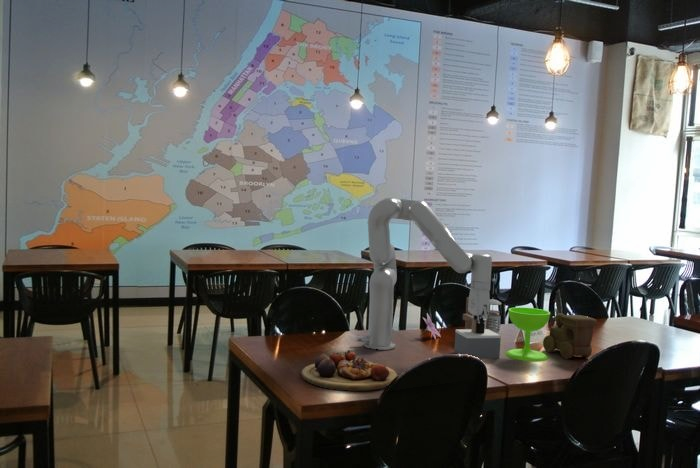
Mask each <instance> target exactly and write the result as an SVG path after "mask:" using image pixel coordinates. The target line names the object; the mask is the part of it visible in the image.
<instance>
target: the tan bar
mask: <svg viewBox="0 0 700 468" xmlns="http://www.w3.org/2000/svg"><path fill="white" fill-rule="evenodd" d="M462 321H467V322H469V323H471V324H472V316H471V315H469V314H466V313H462Z"/></svg>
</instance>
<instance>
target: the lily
mask: <svg viewBox="0 0 700 468" xmlns="http://www.w3.org/2000/svg"><path fill="white" fill-rule="evenodd" d="M426 317H427V318H425V317H423V316H422V319H423V320H424V322H425V324H426V329H425V330H424V331H423V332H422V333H421V335H420V337H422V335H423V334H424V333H425V332H426V331H428V332H431V334H432V336H433V338H434V340H436V339H437V337H436V335H437V336H439V337H440V338H442V337H441V334H440V332H439V331H438V330H437V329H436V325H435V323H433V322H432V319H431V317H430V315H429V314H428V313H426Z"/></svg>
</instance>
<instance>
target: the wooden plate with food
mask: <svg viewBox="0 0 700 468" xmlns="http://www.w3.org/2000/svg"><path fill="white" fill-rule="evenodd" d="M356 357H357V356H356V353H355V352H354V351H352V350H351V351H350V350H347V351H344V353H340V352H333V353H332V354H329V355H326V354H325V353H322V354H320V355H318V357H317V358H316V359H315V360H314V363H311V364H309V365H307V366H305V367H304V368H303V369H302V370H301V373H300V375H301V378H302V379H303V380H304V381H305V380H306V381H307V382H306V381H305V382H306V383H308V382H309V383H308V384H310V383H311V384H310V385H312V384H314V385H313V386H315V385H317V386H316V387H318V386H320V387H319V388H322V387H324V388H323V389H327V388H329V389H328V390H334V389H336V390H337V391H345V390H348V391H347V392H349V391H350V392H351V391H353V392H362V391H364V392H365V391H375V390H381V389H385V388H387V387H386V386H387V385H388V384H389V383H390V382H391V381H392V380H393V379H394V378H395V377H396V376H398V373H397V372H396V370H394V369H393V368H391V367H388V366H386V365H384V364H383V363H382V364H381V363H377V362H375V363H374V362H371V361H368V360H365V359H364V357H358V358H356ZM336 390H335V391H336Z"/></svg>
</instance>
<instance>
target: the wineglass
mask: <svg viewBox="0 0 700 468" xmlns="http://www.w3.org/2000/svg"><path fill="white" fill-rule="evenodd" d="M508 316H509V319H510V321H511V323H512V325H514V326H515V327H517V328H518V329H519V330H522V331H523V332H525V335H524V336H525V337H524V347H523V348H514V349H513V348H512V349H509V350H507V351H506V352H505V356H507V357H509V358H511V359H513V360H517V361H522V362H523V361H525V362H536V363H537V362H545V361H547V360H548V356H547V355H546V354H545V353H543V352H541V351H538V350H535V349H531V347H530V346H531V332H536V331H539V330H541V329H543V328H544V327H545V326H546V325H547V324H548V322H549V320H550V317H551V312H550V311H548V310H545V309H541V308H540V309H539V308H536V307H535V308H534V307H522V306H521V307H519V306H518V307H516V306H515V307H510V308H508Z"/></svg>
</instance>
